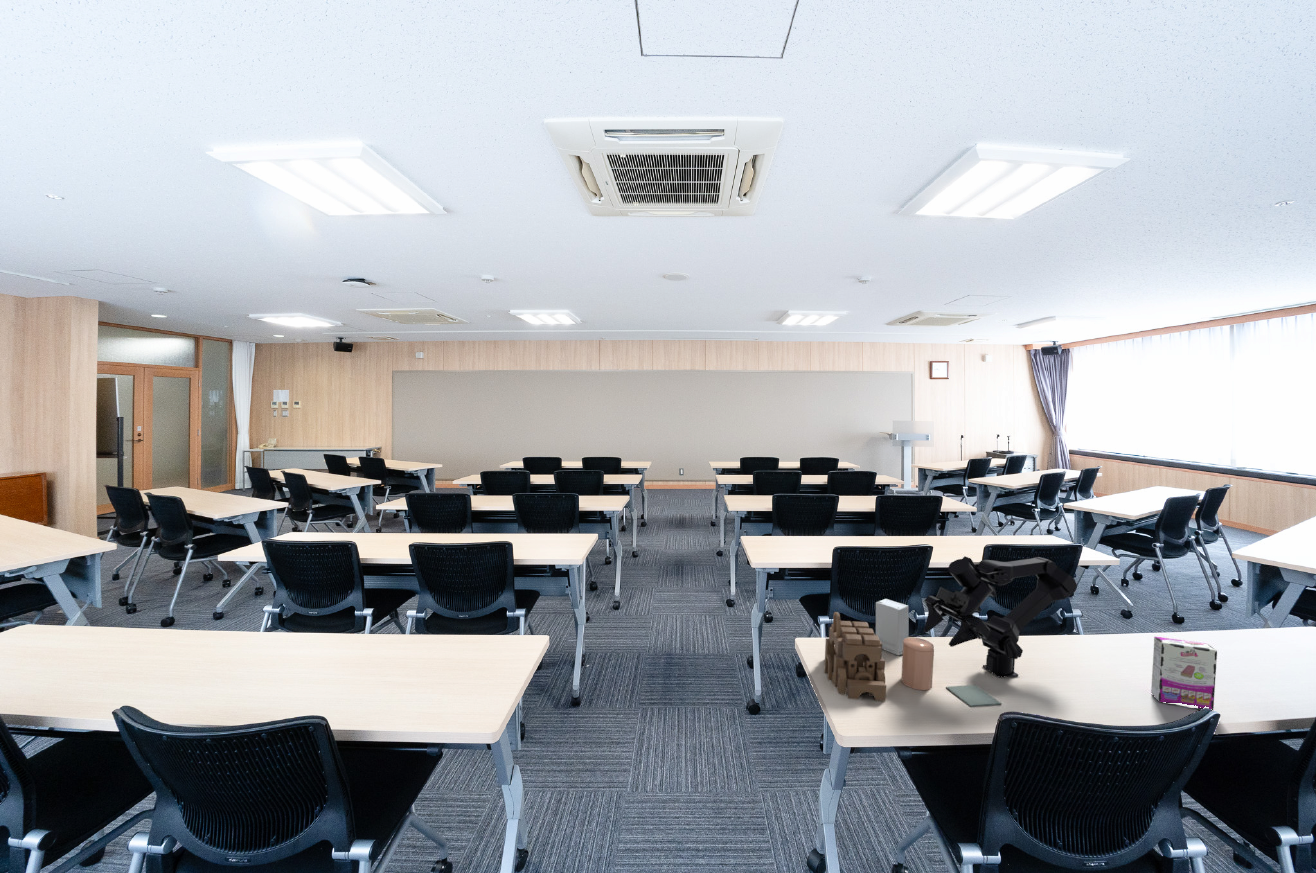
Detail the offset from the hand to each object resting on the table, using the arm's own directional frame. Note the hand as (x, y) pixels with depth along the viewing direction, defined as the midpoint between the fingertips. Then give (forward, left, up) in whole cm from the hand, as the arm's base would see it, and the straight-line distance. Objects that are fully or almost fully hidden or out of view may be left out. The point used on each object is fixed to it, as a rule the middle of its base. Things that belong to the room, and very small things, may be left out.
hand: (937, 638), depth 147 cm
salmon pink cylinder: (+6, +1, -12) cm, 14 cm away
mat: (-5, +9, -12) cm, 16 cm away
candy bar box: (-59, +18, -12) cm, 63 cm away
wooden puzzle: (+23, -4, -12) cm, 26 cm away
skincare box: (+1, -19, -12) cm, 23 cm away
